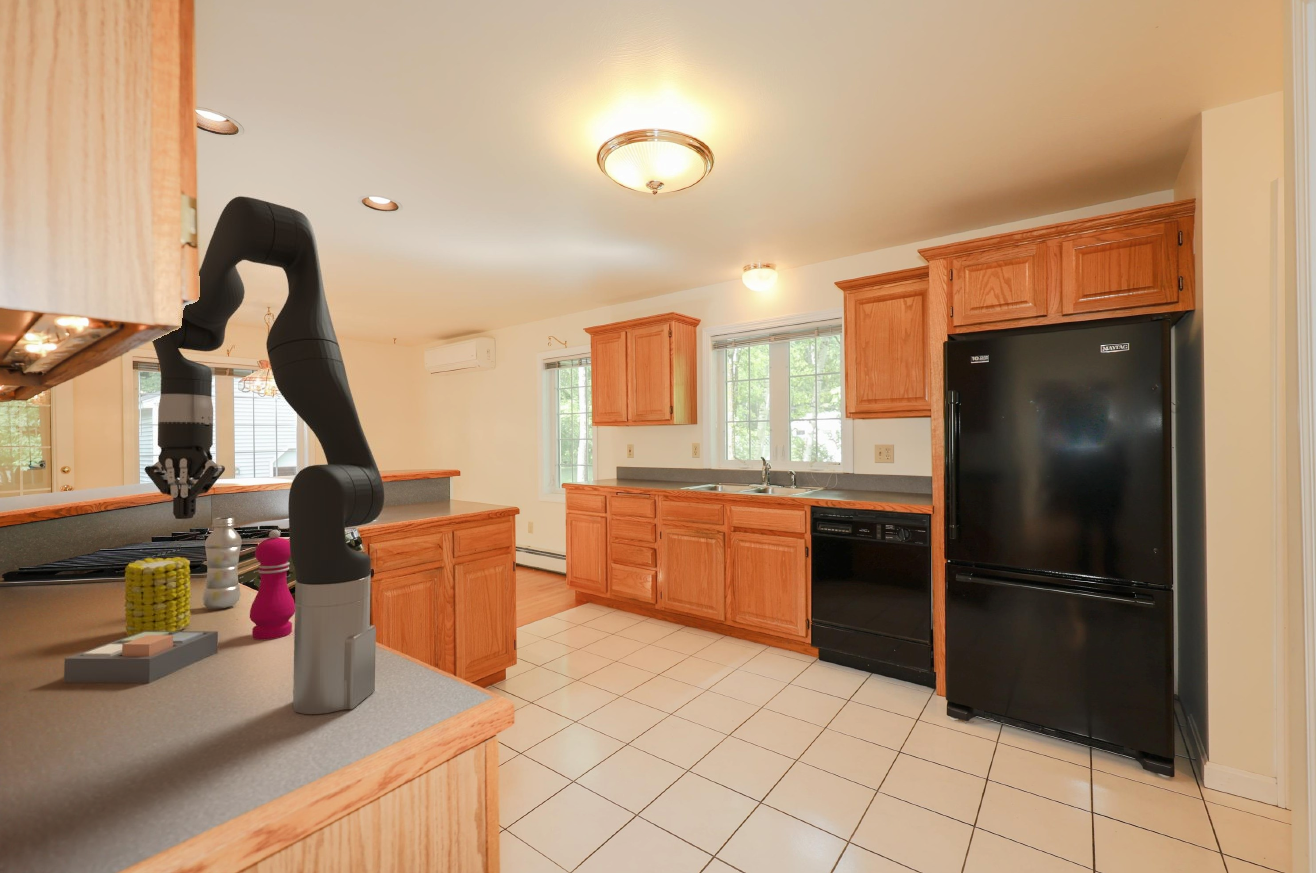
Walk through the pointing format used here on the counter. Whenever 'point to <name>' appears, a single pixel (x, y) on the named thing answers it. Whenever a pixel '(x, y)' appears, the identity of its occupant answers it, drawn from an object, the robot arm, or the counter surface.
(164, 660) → the keypad
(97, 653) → the key
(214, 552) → the plastic bottle
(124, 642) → the key
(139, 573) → the food
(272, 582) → the pepper mill
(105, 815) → the counter surface
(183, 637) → the key
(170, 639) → the key
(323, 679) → the robot arm
